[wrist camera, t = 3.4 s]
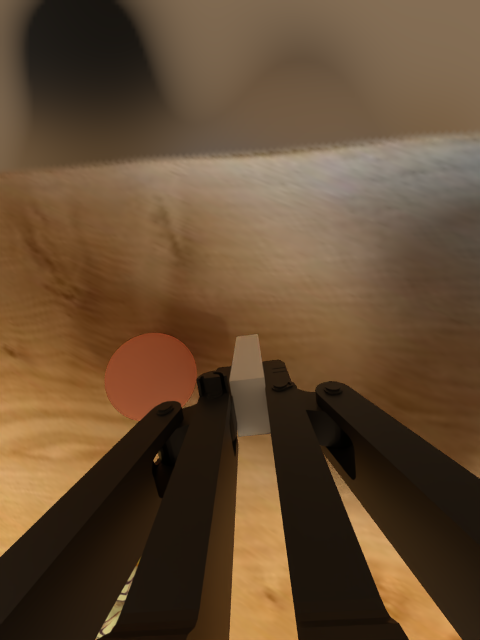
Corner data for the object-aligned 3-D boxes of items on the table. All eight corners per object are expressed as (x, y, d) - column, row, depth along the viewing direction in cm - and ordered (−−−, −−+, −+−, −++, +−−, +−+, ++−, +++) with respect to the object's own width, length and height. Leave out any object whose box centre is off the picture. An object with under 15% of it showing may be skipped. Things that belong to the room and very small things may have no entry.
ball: (196, 319, 19) (170, 342, 13) (210, 387, 20) (192, 437, 14) (125, 329, 19) (68, 356, 13) (142, 396, 20) (98, 447, 15)
